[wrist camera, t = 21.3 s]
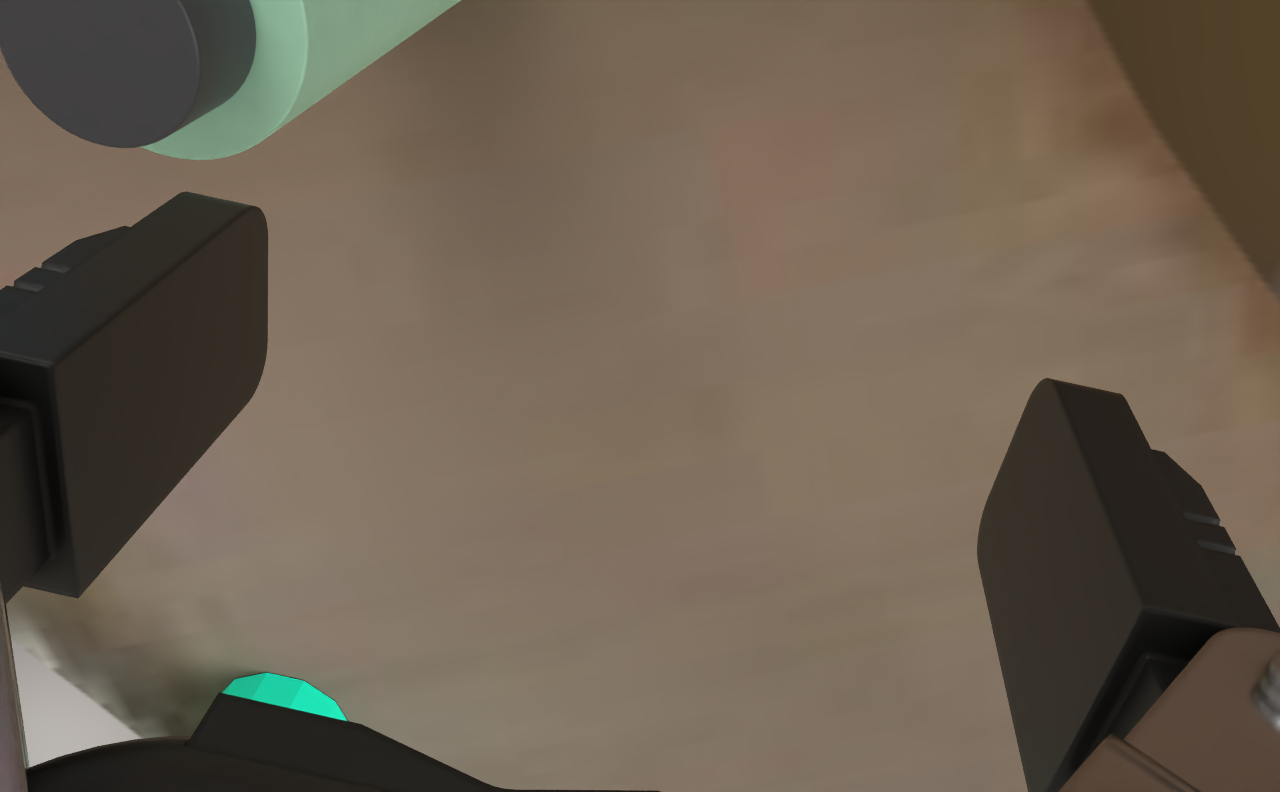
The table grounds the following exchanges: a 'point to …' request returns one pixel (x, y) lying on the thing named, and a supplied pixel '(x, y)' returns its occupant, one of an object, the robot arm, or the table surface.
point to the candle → (285, 694)
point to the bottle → (194, 64)
